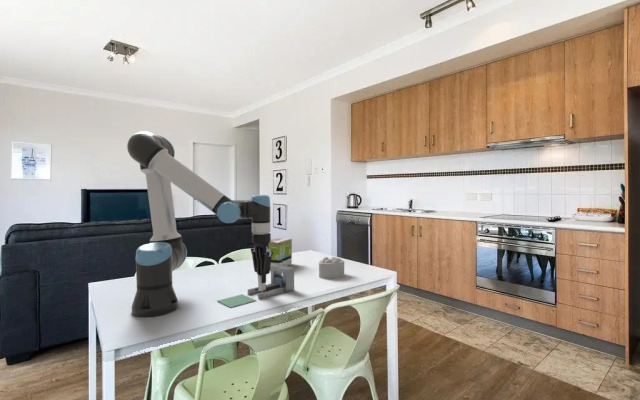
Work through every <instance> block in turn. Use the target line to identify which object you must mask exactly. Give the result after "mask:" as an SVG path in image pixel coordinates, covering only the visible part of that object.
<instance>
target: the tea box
mask: <svg viewBox="0 0 640 400" xmlns="http://www.w3.org/2000/svg"><path fill="white" fill-rule="evenodd" d="M292 241H293V239H292V238H285V237H275V238H272V239H271V241H270V242H269V243H268V245H269V250H270V251H273V255H272V258H271V266H273V265H278V264H280V265H284V266H287V267H289V266H290V265H292V263H293V260H292V259H293V256H292V255H293V254H292V253H293V249H292V247H293V242H292ZM271 266H270V270H271Z"/></svg>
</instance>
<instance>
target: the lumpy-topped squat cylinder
mask: <svg viewBox="0 0 640 400" xmlns="http://www.w3.org/2000/svg"><path fill="white" fill-rule="evenodd" d="M341 277H345V260H343V259H342V258H340V257H335V256H332V257H330V258H329V257H328V256H324V257H323V258H322V259H320V261H318V278H320V279H323V280H324V279H326V280H328V279H329V280H331V279H338V278H341Z"/></svg>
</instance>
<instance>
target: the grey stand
mask: <svg viewBox="0 0 640 400" xmlns="http://www.w3.org/2000/svg"><path fill="white" fill-rule="evenodd" d="M279 276H283V287H281V288H277V289H273V290H270V291H266V292H263V291H258V286H256V287H251V288H247V295H248V296H250V295H253V294H257V299H258V300H261V299H264V298H265V299H266V298H269V297H273V296H275V295H276V296H277V295H281V294H283V293H289V292H290V293H291V292H293V291H295V268H294V267H292V266H291V267H290V266H284V265H280V264H278V265H273V266H271V269H270V284H272V283H274V278H275V277H279Z"/></svg>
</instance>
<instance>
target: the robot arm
mask: <svg viewBox="0 0 640 400" xmlns="http://www.w3.org/2000/svg"><path fill="white" fill-rule="evenodd" d="M126 148H127V152H128V154H129V156H130V158H132V159H133V160H134V161H135V162H137V163H139V167H140V169H139V170H140V172H142V173H143V174H144V175H145V180H146V187H147V188H146V189H147V196H148V197H147V198H148V202H149V212H150V219H151V225H152V226H151V227H152V236H151V237H150V239H149V243H146V244H145V243H144V244H143V245H140V246H139V247H138V248H136V251H135V275H136V278H135V279H136V280H135V281H136V291H135V294H134V298H133V301H132V304H131V314H132V315H133V316H135V317H144V318H145V317H147V318H148V317H156V316H161V315H165V314H168V313H170V312H173V311H176V310H177V309H178V307H179V300H178V296H177V295H176V292H175V289H174V286H173V272H174V271H175V270H177V269H178V268H180V267H181V266H182V265H183V264H184V263H185V261H186V259H187V255H188V250H187V247H186V244H184V242H183V239H182V238H183V237H182V235H181V234H180V233H179V232H178V230H177V223H176V222H177V221H176V215H175V206H174V200H173V191H172V190H173V189H172V184H173V185H174V186H175V187H177V188H178V189H180V190H182V192H184V193H186V194H187V195H188V196H190V197H192V198H193V199H194V200H195V201H197V202H199V204H201V205H203V206H204V207H205V208H206V209H208V210H209V211H211V212H212V213H214V214H215V215H216V216H217V218H218V219H219V221H221V222H222V223H225V224H233V223H234V222H236V221H239V220H244V219H246V220H247V219H248V220H249V219H251V233H252V234H251V243H253V244H254V245H253V247H252V248H250V253H251V257H252V264H253V271H254V273H256V275H257V287H258V291H262V292H263V291H264V290H266V285H267V275H268V274H271V269H270V266H271V258H272V255H273V251H270V250H269V245H268V243H269V242H270V241H271V240H272V239H271V238H272V237H271V233H270V232H271V198H270V196H269V195H266V194H254V195H252V196H251V197H250V199H247V200H246V199H243V200H242V199H234V200H233V199H231V198H229V197H228V196H227V195H225V194H224V193H223V192H221V191H220V190H219V189H217V188H216V187H214V186H213V185H212V184H211V183H209V182H207V180H205V179H204V178H202V177H201V176H199V175H198V174H196V173H195V172H194V171H192V170H191V169H190V168H189V167H187V166H186V165H185V164H183V163H182V162H180V161H179V160H178V159H176V158H175V153H176V152H175V148H174V145H173V144H172V143H171V141H169V140H168V139H167V138H166V137H164V136H161V135H156V134H155V133H152V132H149V131H139V132H136V133H134V134H132V135H131V136H130V137H129V139H128V141H127V145H126Z"/></svg>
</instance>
